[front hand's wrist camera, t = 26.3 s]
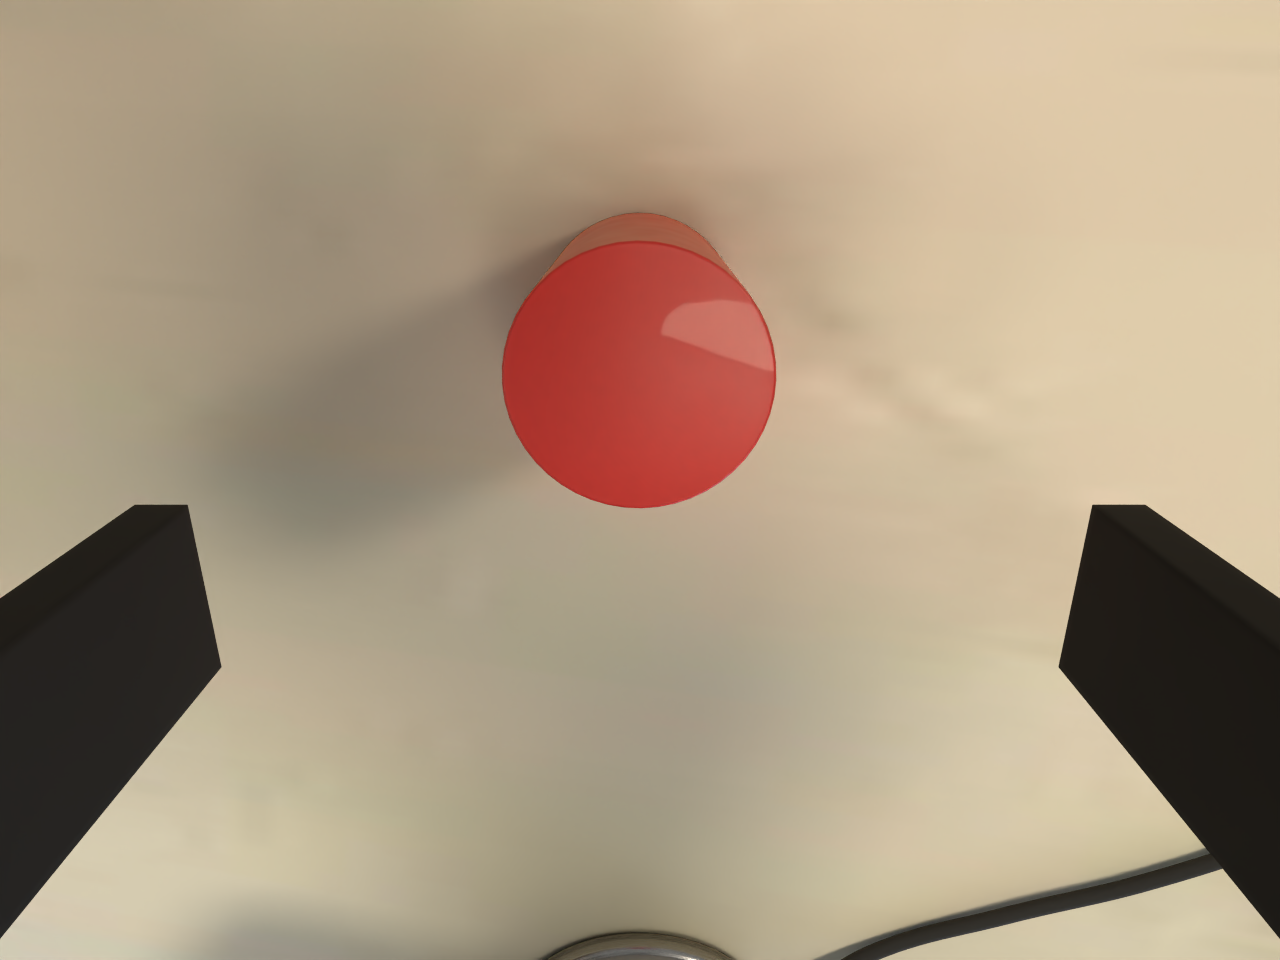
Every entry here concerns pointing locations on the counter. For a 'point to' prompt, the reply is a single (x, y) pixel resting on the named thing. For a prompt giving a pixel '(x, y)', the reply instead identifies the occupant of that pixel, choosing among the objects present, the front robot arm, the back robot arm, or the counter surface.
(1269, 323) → the counter surface
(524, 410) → the tin
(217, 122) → the counter surface
